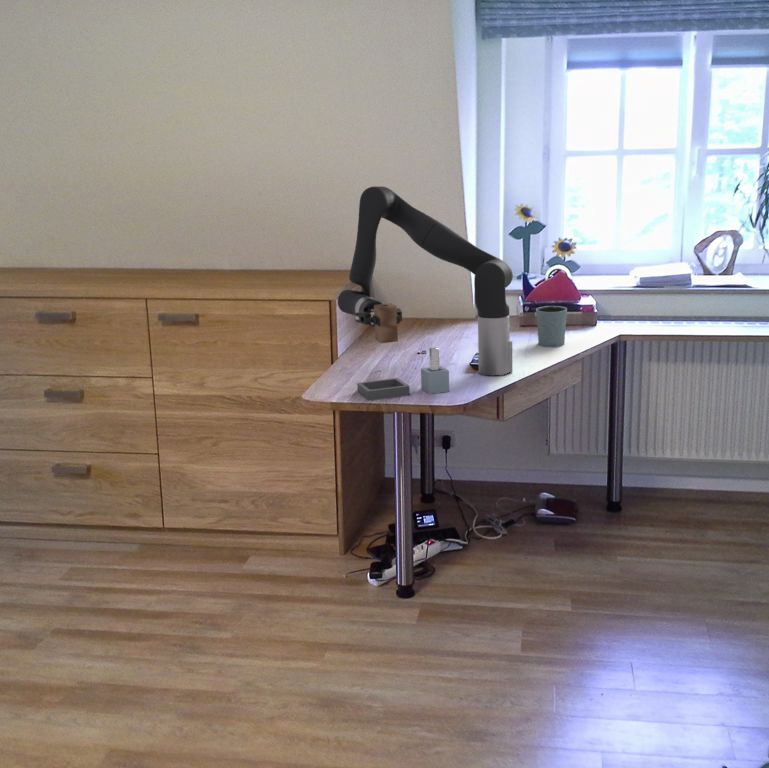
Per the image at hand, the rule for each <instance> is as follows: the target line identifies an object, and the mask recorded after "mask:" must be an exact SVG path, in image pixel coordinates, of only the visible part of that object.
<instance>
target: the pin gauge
mask: <svg viewBox="0 0 769 768" xmlns="http://www.w3.org/2000/svg"><path fill="white" fill-rule="evenodd" d="M439 366H440V348H439V347H435V346H434V347H430V348H429V367H430V371H431V372H432V371H439Z"/></svg>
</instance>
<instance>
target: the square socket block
mask: <svg viewBox="0 0 769 768" xmlns="http://www.w3.org/2000/svg"><path fill="white" fill-rule="evenodd" d="M420 381H421V383H420V384H421V385H420V386H421V387H420V388H421V390H422V391H424V392H425V393H427V394H428V395H435V394H441V393H447V392H448V391H449V392H450V370H449V369H447V368H445V367H444V366H442V365H439V371H432V372H431V371H430V366H429V367H421V368H420Z"/></svg>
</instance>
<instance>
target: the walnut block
mask: <svg viewBox="0 0 769 768" xmlns="http://www.w3.org/2000/svg"><path fill="white" fill-rule="evenodd" d="M374 315H375V316H377V317H379V318H380V326H377V325H375V326H374V335H375V337H374V338H375V341H377V342H378V343H380V344H384V343H385V344H387V343H388V344H389V343H396V342H398V341H399V338H398V337H399V336H398V324H397V305H395V304H393V303H383V304H378V305H374Z"/></svg>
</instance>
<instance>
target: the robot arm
mask: <svg viewBox="0 0 769 768" xmlns="http://www.w3.org/2000/svg"><path fill="white" fill-rule="evenodd" d="M382 219H384V220H386V221H389V222H391V223H392V224H394V225H396V226H397V227H399V228H401V229H402V230H403V231H404V232H405V233H406V234H407V235H408V236H409V237H410V239H411V240H412V241H413V242H414V243H415V244H416V245H417V246H418V247H420V248H421V249H422V250H424V251H426V252H427V253H428V254H430V255H432V256H434V257H435V258H438V259H440V260H442V261H444V262H447V263H450V264H452V265H453V264H454V265H456V266H459V267H461V268H464V269H466V270H467V271H469V272H470V273H472V274H473V275H474V278H473V279H474V280H473V281H474V282H473V286H474V302H475V308H476V310H477V341H478V342H477V343H478V346H477V347H478V348H477V349H478V352H477V355H478V359H477V360H478V366H477V367H478V373H479V374H480V375H482V376H488V375H492V377H494V376H493V375H499V376H505V375H507V373H508V374H510V373H509V372H511V373H513V371H514V370H513V341H512V340H511V339H510V330H511V329H510V305H509V304H507V300H506V288H507V287H508V286H510V284H511V283H512V281H513V277H514V275H513V270H512V268H511V266H510V265H509V264H508V263H507V262H506V261H504V260H503V259H501V258H499V257H497V256H495V255H492V254H490V253H489V252H486V251H485V250H482V248H479V247H477V246H476V245H474V244H473V243H472V242H470V241H469V240H467V239H466V238H464V237H463V236H462V235H460V234H459V233H457V232H455V231H454V230H452V229H451V228H450V227H448V226H446V225H445V224H443V223H442V222H440V221H439V220H437V219H435V218H433V217H432V216H429V215H428V214H426V213H425V212H422V211H420V210H419V209H417V208H415V207H413V206H412V205H411V204H409V203H408V202H407V201H405V200H404V199H403V198H402V197H401V196H399V195H398V194H397V193H396V192H395V191H393V190H392V189H390V188H389V187H386V186H380V185H379V186H369V187H367V188H366V189H364V190H363V192H362V193H361V195H360V198H359V206H358V221H357V222H358V223H357V233H356V234H357V235H356V243H355V247H354V253H353V256H352V261H351V265H350V271H349V275H348V277H349V278H348V279H349V281H350V282H351V283H352V284H355V285H358V286H360V287H361V291H359V290H353V289H343V290H342V291H341V292H340V293H339V294H338V297H337V306H338V308H339V309H340V311H341V312H343V313H344V314H345V313H346V314H348V315H353V316H355V323H360V324H363V325H368V326H371V327H375V325H377V326H380V318H379V317H377V316H375V315H374V305H378V304H384V302H382V301H380V300H378V299H376V298H374V297H373V296H372V280H373V275H374V270H375V268H376V261H377V234H378V229H379V224H380V223H381V220H382ZM402 321H403V311H402V309H401V308H400V307H398V308H397V325H400V323H401V322H402ZM504 374H505V375H504Z"/></svg>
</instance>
